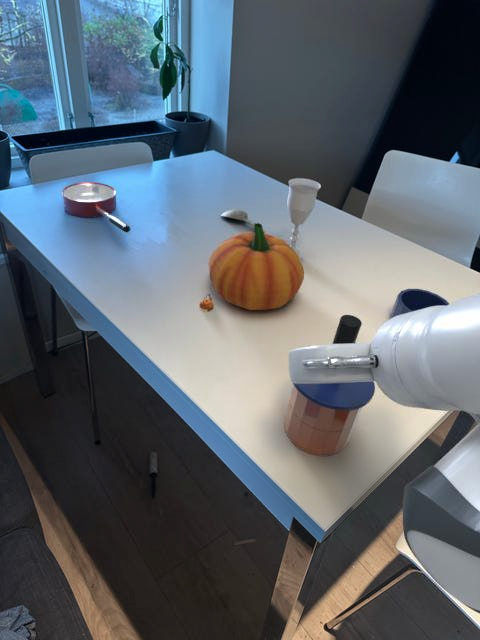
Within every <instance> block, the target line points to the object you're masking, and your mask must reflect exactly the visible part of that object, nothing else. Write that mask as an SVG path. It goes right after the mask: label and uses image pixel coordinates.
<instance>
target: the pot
mask: <svg viewBox="0 0 480 640" xmlns="http://www.w3.org/2000/svg"><path fill="white" fill-rule="evenodd" d="M362 408H363V407H361V408H359V409H355V410H335V409H330V408H326V407H323V406H321V405H318V404H316V403H314V402H312V401H311V400H309V399H307V398H306V397H305V396H303V395H302V394H301V393H300V392H299V391H298V390H297V389H296V388H295V386H294V385H293V384H292V386H291V391H290V394H289V400H288V403H287V407H286V412H285V416H284V422H283V426H284V431H285V434H286V436H287V438H288V439H289V441H290V442H291V443H292V444H293V445H294V446H295V447H296V448H297V449H299V450H301V451H303V452H304V453H307V454H309V455H313V456H316V457H317V456H318V457H329V456H333V455H337V454H338V453H340V452H341V451H343V450H344V449H345V448H346V447H347V444H348V442H349V441H350V439H351V436H352V434H353V431H354V428H355V426H356V424H357V421H358V418H359V416H360V414H361V411H362Z"/></svg>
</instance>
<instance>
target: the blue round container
mask: <svg viewBox="0 0 480 640" xmlns="http://www.w3.org/2000/svg"><path fill="white" fill-rule="evenodd" d="M449 304H450V303H449V301H448V300H447V299H445V298H444V297H442V296H441V295H439V294H437V293H435V292H432V291H430V290H427V289H421V288H406V289H403V290H401V291H400V292H399V293H398V294H397V296H396V299H395V301H394V303H393V306H392V309H391V312H390V315H389V319H391V318H393V317H395V316H398V315H401V314H405V313H409V312H412V311H417V310H420V309H424V308H427V307H432V306H441V305H444V306H447V305H449Z"/></svg>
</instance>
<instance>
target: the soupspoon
mask: <svg viewBox="0 0 480 640" xmlns="http://www.w3.org/2000/svg"><path fill="white" fill-rule="evenodd" d="M220 216H221V217H224V218H228V219H235V220H239V221H243V222H245V223H247V224H249V225H251V226H252V227H254V224H255V223H253V221H250V220H248V217H249V216H248V213H247V212H246V211H244V210H242V209H238V208H237V209H236V208H235V209H229V210H226V211H224V212H223V213H222V214H221V215H220ZM263 231H264V233H265V234H268V235H270V234H269V233H268V232H267V231H265V230H264V229H263Z"/></svg>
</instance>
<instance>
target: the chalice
mask: <svg viewBox="0 0 480 640" xmlns="http://www.w3.org/2000/svg"><path fill="white" fill-rule="evenodd" d="M321 186H322V185H321V184H320V183H319V182H318V181H315V180H313V179H309V178H302V177H301V178H299V177H296V178H291V179H289V180H288V187H289V189H288V195H287V201H286V205H287V206H286V207H287V212H288V215H289V219H290V222H291V223H292V224H294V225H293V229H292V230H291V232H292V236H291V237H290V238H289V239H290V245H289V246H290V247H291V248H292V249H293V250H294V251H295V252H296V254H297V255H298V257H299V259H300V261H302V258H301V253H300V250H299V248H298V247H297V246H296V242H297V241H298V240H299V239H298V237H297V236H298V234H299V233H300V231H299V226H300V225H304V223H305V222H306V221H307V219H308V218H309V217H310V216H311V214H312V212H313V210H314V209H315V204H316V200H317V196H318V192H319V190H320V189H321Z"/></svg>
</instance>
